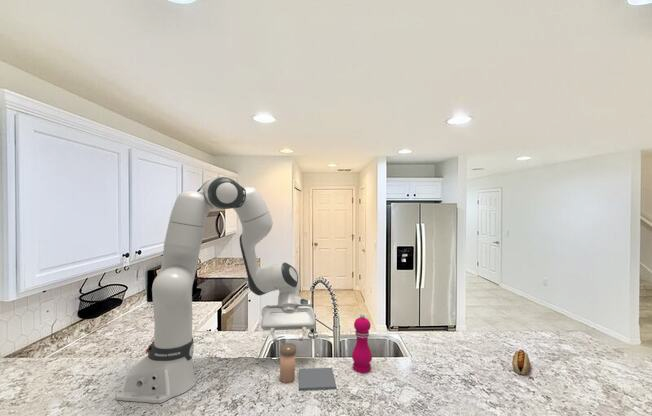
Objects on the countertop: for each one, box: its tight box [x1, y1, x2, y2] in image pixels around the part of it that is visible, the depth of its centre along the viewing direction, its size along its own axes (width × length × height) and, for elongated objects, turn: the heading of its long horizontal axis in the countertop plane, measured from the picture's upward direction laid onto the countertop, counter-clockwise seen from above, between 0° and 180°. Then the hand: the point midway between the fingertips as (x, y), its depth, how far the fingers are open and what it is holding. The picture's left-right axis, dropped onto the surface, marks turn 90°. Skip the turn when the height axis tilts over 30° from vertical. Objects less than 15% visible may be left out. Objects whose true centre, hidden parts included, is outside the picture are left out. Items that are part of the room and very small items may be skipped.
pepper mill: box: [351, 313, 373, 374], centre depth 110 cm, size 7×7×20 cm
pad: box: [298, 367, 337, 392], centre depth 102 cm, size 12×12×1 cm
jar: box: [279, 342, 297, 384], centre depth 103 cm, size 5×5×11 cm
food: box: [511, 349, 531, 375], centre depth 112 cm, size 14×6×5 cm, turn 145°
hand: (288, 340), depth 108 cm, fingers open, 8 cm apart
